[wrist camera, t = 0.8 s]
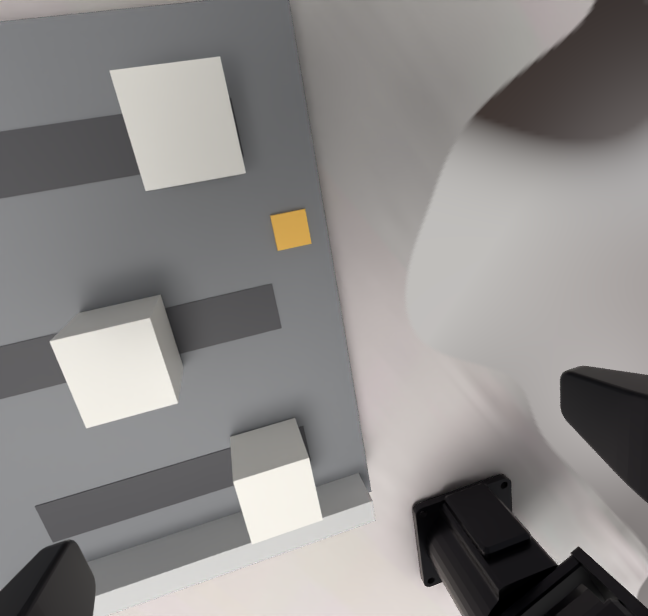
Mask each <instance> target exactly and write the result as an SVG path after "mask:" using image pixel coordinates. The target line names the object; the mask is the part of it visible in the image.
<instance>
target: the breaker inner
mask: <svg viewBox="0 0 648 616" xmlns="http://www.w3.org/2000/svg"><path fill="white" fill-rule="evenodd" d="M230 445H231V459H232V473H233V483H234V486H235V490H236V493H237V496H238V500H239V503H240V506H241V510H242V513H243V516H244V520H245V523H246V526H247V530H248V533H249V536H250V539H251V543H252V544H255V543H258V542H261V541H264V540H267V539H270V538H272V537H275V536H278V535H281V534H284V533H287V532H290V531H293V530H296V529H298V528H301V527H304V526H307V525H310V524H313V523H316V522H319V521H322V520H323V519H322V514H321V510H320V505H319V501H318V496H317V492H316V487H315V483H314V478H313V474H312V469H311V465H310V460H309V456H308V453H307V451H306V448H305V445H304V442H303V439H302V436H301V433H300V431H299V428H298V425H297V422H296V419H295V418H293V419H289V420H286V421H282V422H279V423H276V424H272V425H269V426H265V427H262V428H259V429H255V430H252V431H248V432H245V433H242V434H238V435H235V436H232V437H230Z"/></svg>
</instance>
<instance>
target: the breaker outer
mask: <svg viewBox="0 0 648 616" xmlns="http://www.w3.org/2000/svg"><path fill="white" fill-rule="evenodd" d="M109 71H110V75H111V78H112V81H113V85H114V88H115V91H116V94H117V98H118V101H119V104H120V108H121V111H122V114H123V118H124V121H125V124H126V128H127V131H128V134H129V138H130V141H131V144H132V148H133V151H134V154H135V158H136V161H137V164H138V168H139V171H140V174H141V177H142V181H143V184H144V187H145V191H150V190H157V189H163V188H168V187H174V186H179V185H185V184H190V183H196V182H201V181H207V180H212V179H218V178H223V177H229V176H235V175H240V174H244V173H246V171H245V167H244V162H243V158H242V153H241V149H240V144H239V140H238V135H237V131H236V126H235V122H234V117H233V113H232V108H231V104H230V99H229V95H228V90H227V86H226V81H225V77H224V72H223V68H222V63H221V59H220V56H219V57H211V58H204V59H196V60H188V61H180V62H172V63H164V64H156V65H149V66H141V67H133V68H125V69H117V70H109Z"/></svg>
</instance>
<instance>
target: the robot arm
mask: <svg viewBox="0 0 648 616" xmlns="http://www.w3.org/2000/svg"><path fill="white" fill-rule="evenodd" d="M560 403H561V404H560V406H561V411H562V414H563V416H564V418H565V419H566V421H567V422H568V423H569V424H570V425H571V426H572V427H573V428H574V429H575V430H576V431H577V432H578V433H579V435H580V436H581V437H582V438H583V439H584V440H585V441H586V442H587V443H588V444H589V445H590V446H591V447H592V448H593V449H594V450H595V451H596V452H597V454H598V455H599V456H600V457H601V458H602V459H603V460H604V461H605V462H606V463H607V464H608V465H609V466H610V467H611V468H612V469H613V471H614V472H616V474H617V475H618V476H620V478H621V479H622V480H623V481H624V482H625V483H626V484H627V485H628V486H629V487H630V488H632V489H633V490H634V491H635V492H636V493H637V494H638V495H639V496H640V497H641V498H642V499H644V500H645V501H646V502H647V503H648V375H644V374H637V373H630V372H623V371H616V370H610V369H603V368H596V367H589V366H579V367H576V368H573V369H570V370H567V371H565V372H563V373H562V375H561V378H560ZM422 511H423V512H422ZM413 518H414V526H415V534H416V542H417V549H418V557H419V565H420V573H421V579H422V581H423V583H424V585H425V586H427V587H430V586H434V585H436V584H439V583H441V582H443V583H444V585H445V587H446V589H447V590H448V592H449V594H450V596H451V597H452V599H453V601H454V603H455V604H456V606H457V608H458V610H459V611H460V613H461V615H462V616H648V609H647V608H646V607H645V606H644V605H643V604H642V603H641V602H640V601H639V600H637V599H636V598H635V597H634V596H633V595H632V594H631V593H630V592H629V591H628V590H626V589H625V588H624V587H623V586H622V585H621V584H620V583H619V582H618V581H616V580H615V579H614V578H613V577H612V576H611V575H610V574H609V573H608V572H606V571H605V570H604V569H603V568H602V567H601V566H600V565H599V564H598V563H596V562H595V561H594V560H593V559H592V558H591V557H590V556H589V555H588V554H587V553H585V552H584V551H583V550H582V549H581V548H580V547H577V548H576V549H575V550H573V551H572V552H571V556H570V557H568V558H567V559H566V560H565V561H564V562H562V563H561V564H560V565H559V566H558V565H557V564H556V562H555V561H554V560H553V559H552V558H551V557H550V556H549V555H548V554H547V552H546V551H545V550H544V549H543V548H542V547H541V546H540V545H539V544H538V542H537V541H536V540H535V539H534V538H533V537H532V536H531V534H530V532H529V531H528V530H527V529H526V528H525V527H524V526H523V524H522V523H521V522H520V521H519V520H518V519H517V518H516V517H515V516H514V514H513V513H512V495H511V480H510V479H509V478H508V477H507V476H506V475H504V474H501V475H497V476H495V477H492V478H489V479H486V480H483V481H480V482H478V483H475V484H472V485H469V486H466V487H463V488H461V489H458V490H455V491H452V492H449V493H446V494H444V495H441V496H438V497H435V498H432V499H429V500H427V501H424V502H421V503H419V504H417V505H416V506H415V507H414V508H413ZM95 594H96V583H95V578H94V575H93V572H92V570H91V568H90V567H89V565H88V563H87V561H86V559H85V557H84V555H83V553H82V551H81V549H80V547H79V546H78V544H77V543H76V542H75V541H74V540H71V539H67V540H64V541H61V542H58V543H55V544H52V545H49V546H47V547H44V548H43V549H41V550H40V551H39V552H38V553H37V554H36V555H35V556H34V557H33V558H32V559H31V560H30V561H29V562H28V563H27V564H26V565H25V566H24V567H23V568H22V569H21V570H20V571H19V572H18V573H17V574H16V575H15V576H14V577H13V578H12V579H11V580H10V581H9V582H8V583H7V584H6V585H5V586H4V587H3V588H2V590H1V591H0V616H93V613H94V603H95Z"/></svg>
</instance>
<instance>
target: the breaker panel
mask: <svg viewBox="0 0 648 616" xmlns="http://www.w3.org/2000/svg"><path fill="white" fill-rule="evenodd" d="M219 56H220V59H221V63H222V68H223V72H224V77H225V81H226V86H227V90H228V95H229V99H230V104H231V108H232V113H233V117H234V122H235V126H236V131H237V135H238V140H239V144H240V149H241V153H242V158H243V162H244V167H245V171H246V173H244V174H240V175H235V176H229V177H223V178H218V179H212V180H207V181H201V182H196V183H190V184H185V185H179V186H174V187H168V188H163V189H157V190H150V191H145V187H144V184H143V181H142V177H141V174H140V171H139V168H138V164H137V161H136V158H135V154H134V151H133V148H132V144H131V141H130V138H129V134H128V131H127V128H126V124H125V121H124V118H123V114H122V111H121V108H120V104H119V101H118V98H117V94H116V91H115V88H114V85H113V81H112V78H111V75H110V71H109V70H117V69H125V68H133V67H141V66H149V65H156V64H164V63H172V62H180V61H188V60H196V59H204V58H211V57H219ZM156 295H161V298H162V301H163V304H164V307H165V310H166V313H167V317H168V320H169V323H170V326H171V329H172V333H173V336H174V339H175V342H176V345H177V348H178V352H179V355H180V358H181V361H182V364H183V374H182V381H181V387H180V394H179V400H178V403H177V404H174V405H170V406H166V407H163V408H159V409H155V410H152V411H148V412H144V413H141V414H137V415H134V416H130V417H126V418H123V419H119V420H115V421H112V422H108V423H104V424H101V425H97V426H93V427H90V428H86V427H85V424H84V422H83V420H82V417H81V415H80V413H79V410H78V408H77V405H76V403H75V401H74V398H73V396H72V394H71V391H70V389H69V386H68V384H67V382H66V379H65V377H64V375H63V372H62V370H61V368H60V365H59V363H58V360H57V358H56V356H55V353H54V351H53V349H52V346H51V344H50V342H49V341H50V340H51V339H52V338H53V337H55V336H56V335H57V334H58V333H59V332H60V331H61V330H62V329H63V328H64V327H65V326H66V325H67V324H68V323H69V322H70V321H71V320H72V319H73V318H74V317H75V316H76V315H77V314H78V313H81V312H85V311H90V310H94V309H98V308H103V307H107V306H112V305H116V304H121V303H125V302H130V301H134V300H138V299H143V298H147V297H152V296H156ZM293 418H295V419H296V422H297V425H298V428H299V431H300V433H301V436H302V439H303V442H304V445H305V448H306V451H307V453H308V456H309V460H310V465H311V469H312V474H313V478H314V483H315V487H316V492H317V496H318V501H319V505H320V510H321V514H322V519H323V520H322V521H319V522H316V523H313V524H310V525H307V526H304V527H301V528H298V529H296V530H293V531H290V532H287V533H284V534H281V535H278V536H275V537H272V538H270V539H267V540H264V541H261V542H258V543H255V544H252V543H251V539H250V536H249V533H248V530H247V526H246V523H245V520H244V516H243V513H242V510H241V506H240V503H239V500H238V496H237V493H236V490H235V486H234V483H233V473H232V459H231V445H230V437H232V436H235V435H238V434H242V433H245V432H248V431H252V430H255V429H259V428H262V427H265V426H269V425H272V424H276V423H279V422H282V421H286V420H289V419H293ZM369 492H371V487H370V481H369V475H368V469H367V463H366V457H365V451H364V445H363V439H362V433H361V427H360V421H359V415H358V409H357V403H356V397H355V391H354V385H353V379H352V373H351V367H350V361H349V355H348V349H347V343H346V337H345V332H344V326H343V320H342V314H341V308H340V302H339V296H338V290H337V284H336V278H335V272H334V266H333V260H332V254H331V248H330V242H329V236H328V230H327V224H326V218H325V212H324V206H323V200H322V194H321V188H320V182H319V176H318V170H317V164H316V158H315V152H314V146H313V141H312V135H311V129H310V123H309V117H308V111H307V105H306V99H305V93H304V87H303V81H302V75H301V69H300V63H299V57H298V51H297V45H296V39H295V33H294V27H293V21H292V15H291V9H290V3H289V0H206V1H196V2H187V3H177V4H167V5H157V6H148V7H138V8H128V9H118V10H109V11H99V12H89V13H79V14H70V15H60V16H50V17H40V18H30V19H21V20H11V21H1V22H0V591H1V590H2V588H3V587H4V586H5V585H6V584H7V583H8V582H9V581H10V580H11V579H12V578H13V577H14V576H15V575H16V574H17V573H18V572H19V571H20V570H21V569H22V568H23V567H24V566H25V565H26V564H27V563H28V562H29V561H30V560H31V559H32V558H33V557H34V556H35V555H36V554H37V553H38V552H39V551H40V550H41V549H43V548H44V547H47V546H49V545H52V544H55V543H58V542H61V541H64V540H67V539H71V540H74V541H75V542H76V543H77V544H78V546H79V547H80V549H81V551H82V553H83V555H84V557H85V559H86V561H87V563H88V565H89V567H90V568H91V570H92V572H93V575H94V578H95V583H96V594H95V603H94V613H93V616H109V615H111V614H114V613H117V612H120V611H123V610H126V609H128V608H131V607H134V606H137V605H140V604H142V603H145V602H148V601H151V600H154V599H157V598H159V597H162V596H165V595H168V594H171V593H174V592H176V591H179V590H182V589H185V588H188V587H190V586H193V585H196V584H199V583H202V582H205V581H207V580H210V579H213V578H216V577H219V576H222V575H224V574H227V573H230V572H233V571H236V570H238V569H241V568H244V567H247V566H250V565H253V564H255V563H258V562H261V561H264V560H267V559H269V558H272V557H275V556H278V555H281V554H284V553H286V552H289V551H292V550H295V549H298V548H301V547H303V546H306V545H309V544H312V543H315V542H317V541H320V540H323V539H326V538H329V537H332V536H334V535H337V534H340V533H343V532H346V531H349V530H351V529H354V528H357V527H360V526H363V525H365V524H368V523H371V522H374V521H376V519H375V513H374V507H373V501H372V499H371V497H370V495H369Z"/></svg>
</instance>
